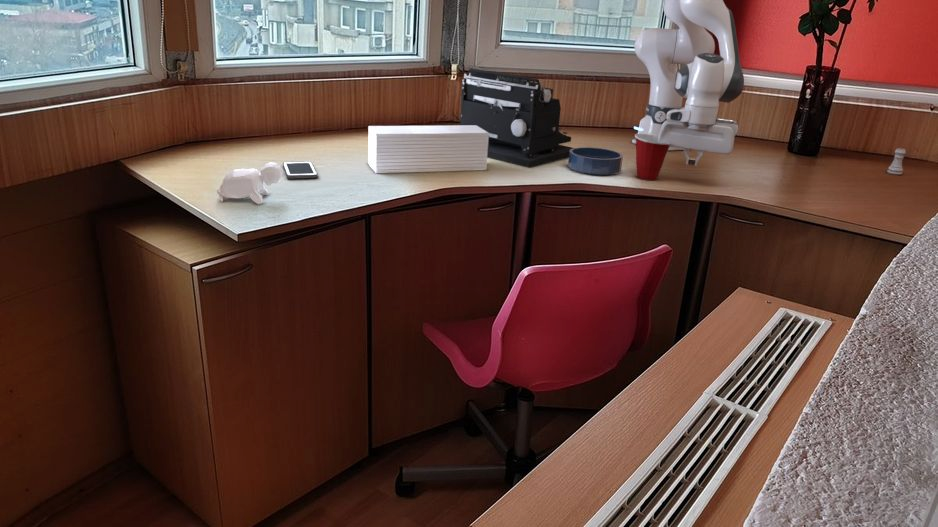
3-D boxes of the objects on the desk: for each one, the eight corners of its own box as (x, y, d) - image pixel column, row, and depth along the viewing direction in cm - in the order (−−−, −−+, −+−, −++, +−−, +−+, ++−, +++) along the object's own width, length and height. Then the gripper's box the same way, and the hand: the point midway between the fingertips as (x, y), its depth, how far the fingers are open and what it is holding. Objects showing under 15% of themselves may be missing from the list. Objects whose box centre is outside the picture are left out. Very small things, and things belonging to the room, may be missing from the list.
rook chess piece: (900, 172, 233) (907, 148, 230) (903, 176, 229) (910, 151, 226) (885, 171, 234) (892, 146, 231) (887, 174, 230) (894, 149, 227)
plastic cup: (667, 184, 201) (674, 142, 197) (628, 180, 203) (634, 138, 199) (665, 175, 211) (672, 135, 207) (628, 171, 213) (634, 131, 209)
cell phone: (311, 164, 199) (311, 161, 199) (318, 178, 186) (317, 174, 186) (282, 165, 197) (282, 161, 196) (287, 179, 184) (287, 175, 183)
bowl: (576, 160, 223) (578, 144, 221) (625, 168, 217) (628, 152, 215) (560, 170, 209) (562, 154, 207) (613, 179, 204) (615, 162, 202)
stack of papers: (474, 161, 214) (476, 125, 210) (486, 170, 205) (488, 132, 201) (368, 163, 204) (368, 125, 200) (375, 173, 195) (376, 133, 191)
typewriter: (578, 155, 230) (587, 75, 221) (529, 167, 210) (537, 80, 201) (502, 138, 248) (508, 63, 239) (450, 148, 229) (454, 67, 219)
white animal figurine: (226, 216, 164) (287, 194, 163) (209, 182, 160) (272, 160, 160) (234, 205, 171) (292, 184, 171) (218, 172, 168) (278, 151, 168)
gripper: (741, 119, 195) (731, 168, 200) (665, 109, 202) (657, 157, 207) (738, 122, 189) (728, 173, 194) (660, 112, 197) (653, 162, 202)
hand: (691, 165), depth 201 cm, fingers closed
